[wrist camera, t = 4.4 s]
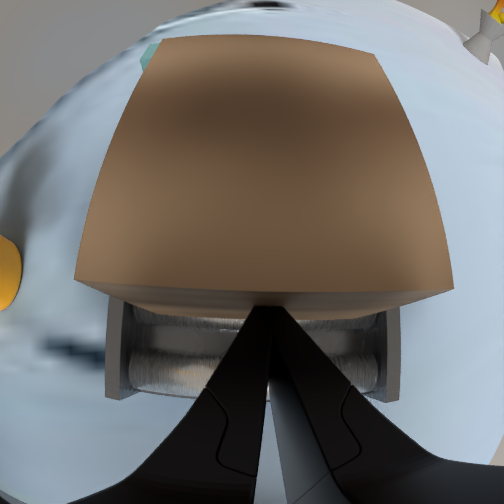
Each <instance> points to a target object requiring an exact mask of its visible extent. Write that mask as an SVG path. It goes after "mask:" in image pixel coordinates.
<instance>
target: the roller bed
mask: <svg viewBox="0 0 504 504" xmlns="http://www.w3.org/2000/svg"><path fill="white" fill-rule="evenodd" d="M245 320H246V319H221V318H202V317H187V316H173V315H161V314H156V313H154V312H151V311H148V310H146V309H143V308H140V307H138V306H135V305H133V304H130V303H128V302H125V301H123V300H120V299H118V298H115V297H113V296H110V297H109V307H108V318H107V331H106V351H105V397H107V398H111V399H115V400H122V399H125V398H127V397H129V396H131V395H134V394H136V393H138V392H145V393H152V394H158V395H165V396H173V397H181V398H191V399H197V398H198V396H199V395H200V393H201V391H202V390H203V388H205V385H206V384H207V382H208V381H209V379H210V377H211V376H212V374H213V372H214V371H215V369H216V368H217V366H218V364H219V363H220V361H221V359H222V358H223V356H224V355H225V353H226V351H227V350H228V348H229V346H230V345H231V343H232V341H233V340H234V338H235V336H236V335H237V333H238V331H239V330H240V328H241V326H242V325H243V323H244V321H245ZM296 321H297V322H298V324H299V325H300V326H301V327H302V328H303V329H304V330H305V331H306V333H307V334H308V335H309V336H310V337H311V338H312V339H313V340H314V342H315V343H316V344H317V345H318V346H319V347H320V348H321V349H322V350H323V352H324V353H325V354H326V355H327V356H328V357H329V358H330V359H331V360H332V362H333V363H334V364H335V365H336V366H337V367H338V368H339V369H340V370H341V372H342V373H343V374H344V375H345V376H346V377H347V378H348V379H349V380H350V381H351V383H352V384H351V385H354V386H355V387H356V388H357V389H358V390H359V391H360V392H361V393H362V394H363V395H365V396H367V397H370V398H373V399H376V400H379V401H382V402H384V403H388V402H392V401H397V400H399V391H400V368H401V332H400V309H399V307H396V308H392V309H389V310H385V311H382V312H378V313H374V314H370V315H367V316H363V317H359V318H355V319H334V320H296ZM266 402H270V395H269V389H268V390H267V399H266Z"/></svg>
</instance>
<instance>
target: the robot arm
mask: <svg viewBox="0 0 504 504" xmlns="http://www.w3.org/2000/svg"><path fill="white" fill-rule="evenodd" d="M351 384H352V383H351V381H350V380H349V379H348V378H347V377H346V376H345V375H344V374H343V373H342V372H341V370H340V369H339V368H338V367H337V366H336V365H335V364H334V363H333V362H332V360H331V359H330V358H329V357H328V356H327V355H326V354H325V353H324V352H323V350H322V349H321V348H320V347H319V346H318V345H317V344H316V343H315V342H314V340H313V339H312V338H311V337H310V336H309V335H308V334H307V333H306V331H305V330H304V329H303V328H302V327H301V326H300V325H299V324H298V322H297V321H296V320H295V319H294V318H293V317H292V316H291V315H290V313H289V312H288V311H287V310H286V309H285V308H284V307H283V306H270V307H269V308H268V307H267V306H254V307H253V308H252V309H251V311H250V313H249V314H248V316H247V318H246V320H245V321H244V323H243V325H242V326H241V328H240V330H239V331H238V333H237V335H236V336H235V338H234V340H233V341H232V343H231V345H230V346H229V348H228V350H227V351H226V353H225V355H224V356H223V358H222V359H221V361H220V363H219V364H218V366H217V368H216V369H215V371H214V372H213V374H212V376H211V377H210V379H209V381H208V382H207V384H206V385H205V388H203V390H202V391H201V393H200V395H199V396H198V398H197V399H196V401H195V402H194V404H193V405H192V407H191V408H190V409H189V411H188V412H187V414H186V415H185V416H184V418H183V419H182V420H181V421H180V422H179V424H178V425H177V426H176V427H175V428H174V430H173V431H172V432H171V433H170V434H169V435H168V436H167V437H166V439H165V440H164V441H163V442H162V443H161V444H160V445H159V446H158V447H157V448H156V449H155V450H154V452H153V453H152V454H151V455H150V456H149V457H148V458H147V459H146V460H145V461H144V462H143V463H142V464H141V465H140V466H139V467H138V468H137V469H136V470H135V471H134V472H133V473H131V474H130V475H129V476H128V477H126V478H125V479H124V480H122V481H120V482H119V483H117V484H115V485H113V486H110V487H108V488H106V489H104V490H101V491H99V492H96V493H94V494H91V495H89V496H86V497H84V498H81V499H78V500H76V501H73V502H70V503H67V504H253V503H254V496H255V488H256V481H257V479H256V478H257V473H258V466H259V458H260V450H261V442H262V434H263V426H264V417H265V408H266V399H267V390H268V389H269V395H270V402H271V408H272V414H273V420H274V426H275V432H276V438H277V444H278V451H279V457H280V463H281V469H282V475H283V481H284V487H285V493H286V498H287V504H504V466H495V465H483V464H474V463H466V462H459V461H453V460H447V459H444V458H440V457H438V456H436V455H433V454H432V453H430V452H428V451H427V450H425V449H424V448H423V447H421V446H420V445H419V444H418V443H416V442H415V441H414V440H413V439H411V438H410V437H409V436H408V435H407V434H405V433H404V432H403V431H402V430H401V429H399V428H398V427H397V426H396V425H395V424H393V423H392V422H391V421H390V420H389V419H388V418H386V417H385V416H384V415H383V414H382V413H381V412H380V411H379V410H378V409H376V408H375V407H374V406H373V405H372V404H371V403H370V402H369V401H368V400H367V399H366V398H365V396H364V395H363V394H362V393H361V392H360V391H359V390H358V389H357V388H356V387H355V386H354V385H351ZM0 504H26V503H24V502H22V501H20V500H18V499H16V498H14V497H12V496H10V495H8V494H6V493H5V492H3V491H1V490H0Z"/></svg>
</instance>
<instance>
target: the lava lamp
mask: <svg viewBox="0 0 504 504" xmlns="http://www.w3.org/2000/svg"><path fill="white" fill-rule="evenodd" d="M503 7H504V0H497V3H496V5H495V7H494V8H493V10H492V11H491V12H489V13H486V12H485V11H484V10H482V9H481V19H480V32H478V33H477V34H476V35H474V36H473V37H472V38H470V39H469V40H468V41H466V42H465V43H464V44H463V45H464V47H465V48H466V49H467V50H468V51H469V52H470V53H472V54H473V55H474V56H475V57H476V58H478V59H479V60H480V61H482V62H483V63H485V64H487V65H488V61H489V56H490V51H491V46H492V42H493V41H495V40H496V39H498V38H499V37H501V36H503V35H504V26H503V25H502V24H501V23H503V24H504V13H503V12H500V11H501V9H502V8H503Z"/></svg>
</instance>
